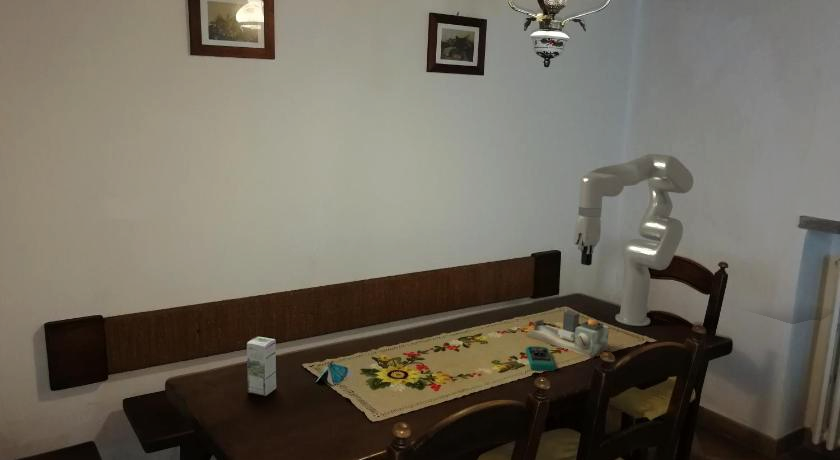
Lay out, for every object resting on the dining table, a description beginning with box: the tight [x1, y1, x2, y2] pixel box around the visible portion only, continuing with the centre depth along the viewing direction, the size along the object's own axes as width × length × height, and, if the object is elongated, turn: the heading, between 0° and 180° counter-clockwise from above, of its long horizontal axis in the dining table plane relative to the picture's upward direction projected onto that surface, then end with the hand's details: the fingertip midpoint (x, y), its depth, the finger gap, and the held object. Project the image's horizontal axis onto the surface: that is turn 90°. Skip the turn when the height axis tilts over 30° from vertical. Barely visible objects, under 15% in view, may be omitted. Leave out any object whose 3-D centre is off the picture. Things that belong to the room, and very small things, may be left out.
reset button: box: [587, 318, 599, 326], centre depth 216 cm, size 3×3×2 cm
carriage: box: [558, 310, 580, 341], centre depth 222 cm, size 7×5×9 cm
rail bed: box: [526, 318, 610, 358], centre depth 223 cm, size 12×25×9 cm, turn 44°
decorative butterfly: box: [315, 356, 355, 386], centre depth 188 cm, size 10×6×10 cm
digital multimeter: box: [525, 345, 556, 372], centre depth 206 cm, size 7×15×3 cm, turn 178°
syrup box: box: [246, 336, 277, 397], centre depth 177 cm, size 6×6×14 cm
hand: (586, 264), depth 226 cm, fingers closed
